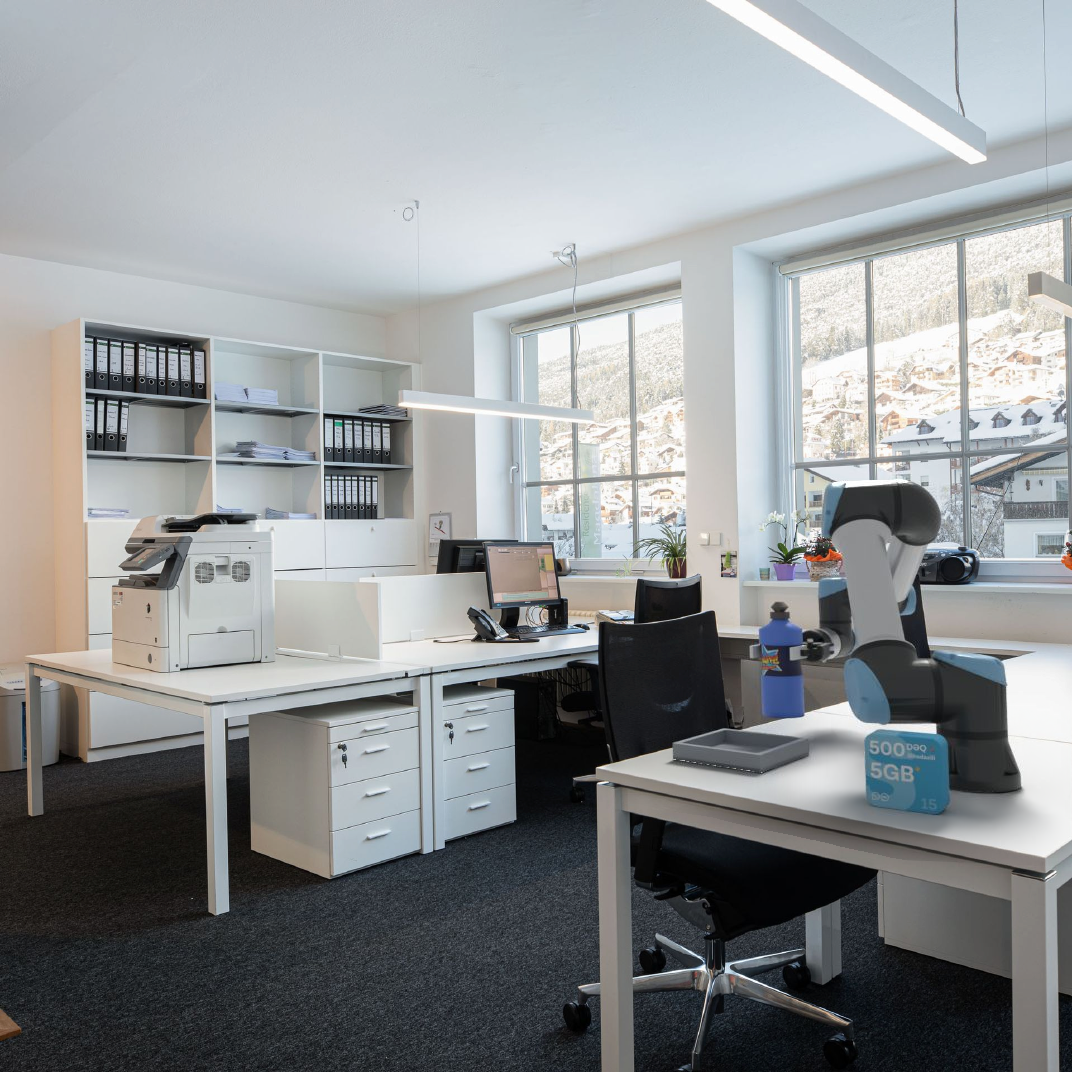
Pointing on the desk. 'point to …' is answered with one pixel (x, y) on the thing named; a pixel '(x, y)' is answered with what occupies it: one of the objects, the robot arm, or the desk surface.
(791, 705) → the water bottle
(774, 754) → the tray
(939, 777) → the data package
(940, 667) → the robot arm
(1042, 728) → the desk surface
